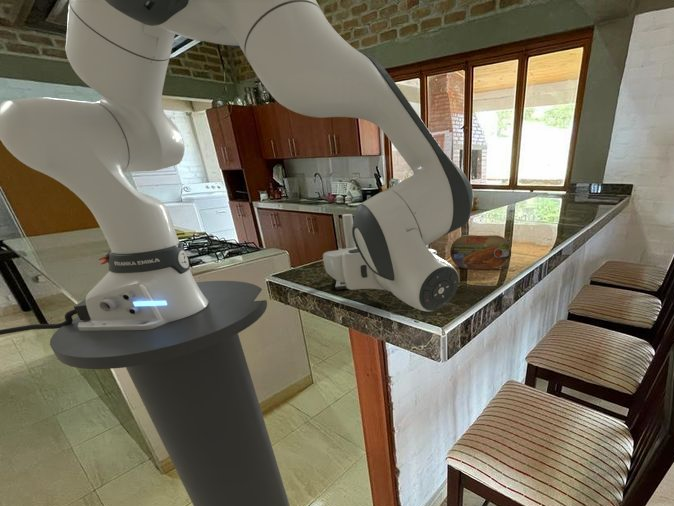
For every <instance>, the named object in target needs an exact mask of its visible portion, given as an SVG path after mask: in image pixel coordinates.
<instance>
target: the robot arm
mask: <svg viewBox="0 0 674 506" xmlns="http://www.w3.org/2000/svg"><path fill="white" fill-rule="evenodd" d="M68 1H69V2H68V12H67V25H66V39H65V41H66V42H65V54H66V57H67V60H68V62H69V64H70V67H71V68H72V70H73V71H74V72H75V74H76V75H77V77H78V78H79V79H80V80H81V81H82V82H83V83H84V84H85V85H87V86H88V87H90V89H92V90H93V91H95V92H96V93H97V94H99V95H100V96H101V98H100V99H99V100H98V101H85V100H84V101H83V100H74V99H64V98H54V97H46V96H45V97H44V96H43V97H27V98H17V99H7V100H4V101H2V102H1V103H0V141H1V143H2V145H3V146H4V147H5V149H6V150H7V151H8V152H9V153H10V154H11V155H12V156H13V157H14V158H16V159H17V160H18V161H19V162H21V163H22V164H24V165H25V166H26V167H28V168H31V169H32V170H35V171H37V172H39V173H42V174H44V175H46V176H47V177H50V178H51V179H53V180H54V181H57V182H59V183H60V184H61V185H63V186H64V187H66V188H67V189H69V191H70V192H72V193H73V194H75V196H76V197H78V198H79V199H80V200H81V201H82V202H83V203H84V205H85V206H86V207H87V208H88V209H89V210H90V213H92V215H93V217H94V218H95V220H96V222H97V224H98V226H99V228H100V231H101V232H102V234H103V236H104V238H105V240H106V242H107V244H108V247H109V249H110V251H109V252H108V253H107V254H105V256H103V257H100V258H98V259H97V261H101V262H100V263H99V264H100V265H104V264H107V263H108V272H107V273H106V274H105V275H104V276H103V277H102V278H101V279H100V280H99V281H98V282H97V283H96V284H95V286H94V287H92V288H91V289H90V290H89V291H88V293H87V294H86V296H85V298H84V299H83V300H82V301H79V303H77V304H76V305H74V306H73V309H71V310H69V311H67V312H65V314H64V319H65V320H64V321H62V322H59V323H36V324H35V323H34V324H27V325H20V326H15V327H14V326H13V327H8V328H3V329H0V336H2V335H8V334H13V333H21V332H25V331H33V330H58V329H59V328H61V327H62V326H64V325H68V324H71V323H72V322H73V319H74V318H73V316H75V315H77V317H78V316H79V318H80V320H81V321H80V322H79V324H78V328H79V331H110V330H150V329H153V328H156V327H159V326H161V325H164V324H166V323H169V322H172V321H175V320H179V319H182V318H185V317H188V316H190V315H193V314H195V313H197V312H199V311H201V310H202V309H204V308H205V307H206V306H207V305H208V300H207V299H206V298H205V296H204V295H203V293H202V292H201V290H200V289H199V287H198V285H197V283H196V282H197V281H196V279H195V278H194V276H193V274H192V271H191V269H190V268H191V266H190V262H189V258H188V255H187V253H186V250H185V247H184V244H183V242H181V241H180V240H179V237H178V235H177V232H176V229H175V226H174V222H173V220H172V217H171V214H170V211H169V209H168V207H167V206H166V204H165V203H164V202H163V201H161V200H160V199H158V198H157V197H154V196H152V195H149V194H147V193H144V192H141V191H139V190H138V189H136V188H135V187H134V186H133V185H132V184H131V183H130V182H129V180H128V179H127V177H126V175H125V173H136V172H137V173H138V172H155V171H159V170H163V169H168V168H172V167H174V166H177V165H179V164H181V162H182V160H183V158H184V155H185V141H184V138H183V135H182V134H181V132H180V130H179V128H178V127H177V125H176V124H175V122H173V120H171V119H170V118H169V117H168V116H167V115H166V113H165V111H164V108H163V107H164V106H163V91H164V85H165V81H166V76H167V72H168V71H167V70H168V68H169V67H168V66H169V63H170V59H171V55H172V50H173V45H174V40H175V36H176V35H177V36H180V37H183V38H186V39H190V40H193V41H196V42H206V43H211V44H216V45H221V46H222V45H223V46H227V47H229V48H232V49H235V50H241V51H242V53H243V55H244V56H245V58H246V60H247V61H248V63H249V65H250V67H251V68H252V70H253V72H254V73H255V74H256V76H257V78H258V79H259V80H260V83H262V85H263V86H264V88H265V89H266V90H267V92H268V93H269V94H270V96H272V98H273V99H274V100H275V101H276V102H277V103H278V104H279V105H281V106H282V107H284V108H286V109H287V110H290V111H291V112H294V113H296V114H299V115H301V116H306V117H311V118H318V119H319V118H320V119H321V118H323V119H324V118H352V119H360V120H364V121H367V122H370V123H372V124H374V125H375V126H376V127H378V128H379V129H380V130H381V131H382V132H383V133H384V134H385V136H386V137H387V138H388V140H389V141H390V142H391V144H392V145H393V146H394V148H395V149H396V151H397V152H398V153H399V155H400V156H401V157H402V158H403V160H404V161H405V162H406V164H407V166H409V168H410V169H411V171H412V173H413V174H412V175H411V176H408V177H407V178H406V179H403V180H402V181H400V182H398V183H396V184H394V185H393V186H391V187H389V188H385V189H384V190H382V191H380V192H378V193H376V194H375V195H373V196H371V197H370V198H368V199H365V200H364V201H363V202H361V203H359V204H357V206H356V208H355V211H354V213H353V227H352V234H353V239H354V242H355V245H356V247H354V248H346V246H345V247H339V248H338V249H336V250H328V251H325V252H323V254H322V261H323V267H324V270H325V272H326V273H327V275H329V276H330V277H331V278H332V279H334V280H335V281H336V280H337V281H339V282H343V283H345V284H346V287H347V288H348V289H347V290H350V291H357V290H379V291H388V292H390V293H391V294H392V295H393V296H395V298H397V299H398V300H400V301H402V302H403V303H404V304H406V305H408V306H409V307H412V308H414V309H416V310H419V311H422V312H436V311H438V310H440V309H441V308H443V307H445V306H446V305H447V304H449V303H450V301H451V300H453V298H454V297H455V295H456V294H457V291H458V288H459V285H460V275H459V273H458V271H457V269H456V268H455V267H454V266H453V265H452V264H451V263H449V262H448V261H447V260H446V259H443V258H442V257H440V256H438V255H437V254H438V252H437V250H435V249H432V248H430V247H429V245H430V244H431V243H433V242H435V241H436V240H438V239H440V238H441V237H443V236H447V235H449V234H450V233H452V232H454V231H457V230H458V229H461V228H462V227H464V226H466V224H467V223H468V221H469V219H470V217H471V214H472V210H473V205H474V191H473V186H472V184H471V182H470V180H469V178H468V177H467V175H466V174H465V172H464V171H463V170H462V169H461V168H460V167H459V166H458V165H457V164H456V163H455V162H454V161H453V160H452V159H451V157H449V156H448V155H447V153H446V152H445V151H444V149H443V148H442V147H441V146H440V144H439V143H438V141H437V140H436V138H435V137H434V135H433V134H432V133H431V131H430V130H429V128H428V127H427V126H426V125H425V123H424V121H423V120H422V118H421V117H420V116H419V114H418V113H417V112H416V110H415V109H414V106H413V105H411V103H410V102H409V100H408V99H407V97H406V95H405V94H404V93H403V92H402V90H401V89H400V87H399V86H398V85H397V83H396V82H395V81H394V79H393V78H392V77H391V76H390V74H389V73H388V71H387V70H386V69H385V68H384V67H383V65H382V64H381V63H380V62H379V61H378V60H377V59H376V58H374V57H373V56H371V55H369V54H366V53H362V52H360V51H358V50H357V49H356V48H355V47H354V46H352V45H351V44H350V43H348V42H347V41H346V40H345V39H344V38H343V37H342V36H341V35H340V34H339V33H338V32H337V30H335V28H334V27H333V26H332V24H331V23H330V22H329V21H328V19H327V17H326V15H325V14H324V12H323V10H322V9H321V6H320V5H319V4H318V2H317V0H68Z"/></svg>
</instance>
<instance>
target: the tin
mask: <svg viewBox="0 0 674 506" xmlns="http://www.w3.org/2000/svg"><path fill="white" fill-rule="evenodd" d="M449 255H450V258H451V261H452V262H453V264H455V265H456V266H457V267H458V268H461V269H467V270H499V269H502V268H503V267H505V266H507V264H508V263H509V262H510V260H511V257H512V247H511V245H510V242H509V240H507V239H506V238H505V237H504V236H501V235H497V234H464V235H461V236H459V237H457V238H456V239H455V240H454V241H453V242H452V244H451V246H450V251H449Z"/></svg>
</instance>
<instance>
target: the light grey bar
mask: <svg viewBox="0 0 674 506" xmlns="http://www.w3.org/2000/svg"><path fill="white" fill-rule="evenodd" d="M341 217H342V226H343V232H344V233H343V234H344V241H345V247H346V248H354V247H356V244H355V242H354V239H353V234H352V227H353V219H354V217H353V214H352V213H343V214H341Z"/></svg>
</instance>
